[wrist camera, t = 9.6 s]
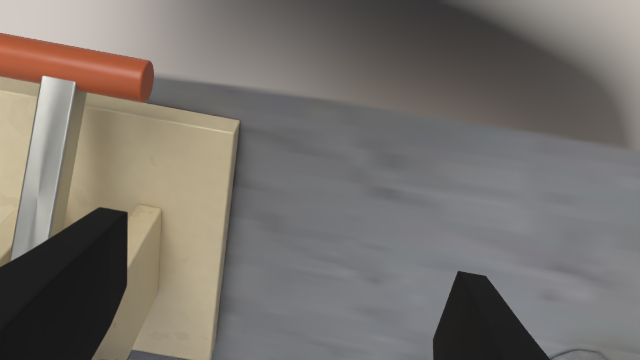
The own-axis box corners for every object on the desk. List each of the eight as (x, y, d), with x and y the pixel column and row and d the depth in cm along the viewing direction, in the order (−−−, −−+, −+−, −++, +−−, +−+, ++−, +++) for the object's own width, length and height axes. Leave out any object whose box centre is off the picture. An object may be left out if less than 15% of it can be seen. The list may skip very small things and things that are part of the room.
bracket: (-22, 71, 22) (-262, 212, 14) (240, 120, 22) (163, 287, 14) (8, 308, 28) (-146, 508, 20) (215, 344, 28) (150, 557, 20)
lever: (10, 39, 19) (-32, 21, 17) (160, 67, 19) (140, 53, 17) (-50, 384, 20) (-99, 414, 17) (100, 409, 20) (72, 443, 17)
